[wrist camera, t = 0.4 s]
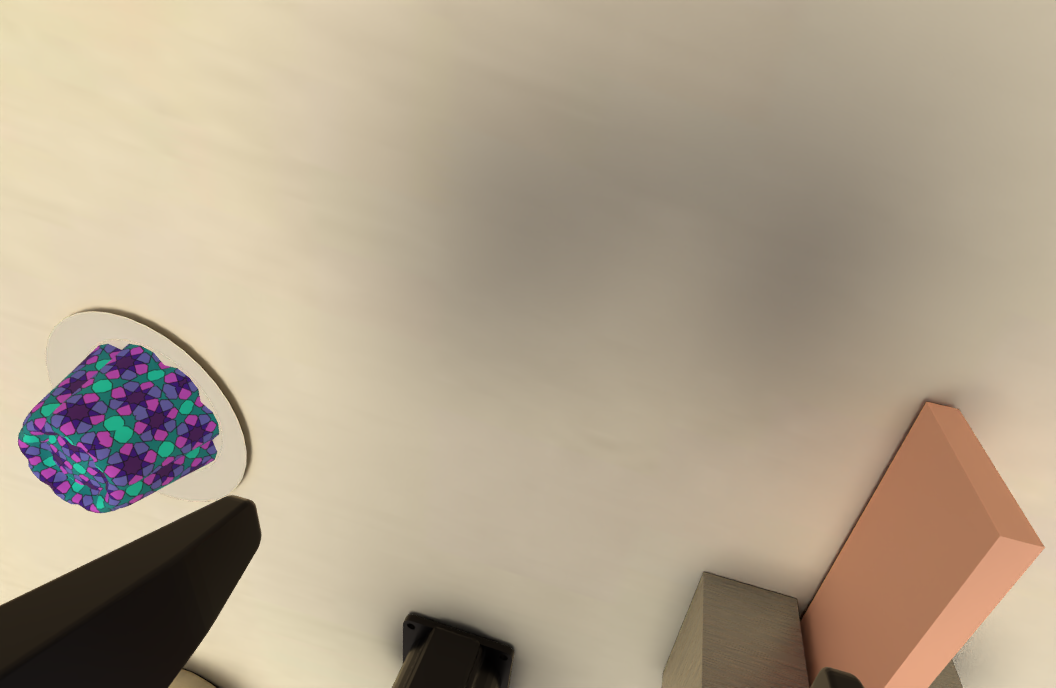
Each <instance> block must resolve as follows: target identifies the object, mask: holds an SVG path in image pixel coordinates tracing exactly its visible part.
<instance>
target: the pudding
mask: <svg viewBox="0 0 1056 688" xmlns="http://www.w3.org/2000/svg"><path fill="white" fill-rule="evenodd" d="M111 340H123V341H130V342H134V343H138V344H141V345H143V346H146V347H148V348H150V349H153V350H155V351H156V352H158V353H160V354H162V355H163V356H165V357H167V358H168V359H169V360H171V361H172V362H173V363H175V364H176V365H178V366H179V367H180V368H181V369H182V370H183V371H184V372H185V373H187V374H188V375H189V376H190V377H191V378H192V379H193V380H194V382H195V383H196V384H197V385H198V386H199V387H200V388H201V390H202V391H203V393H204V394H205V395H206V397H207V398H208V400H209V401H210V403H211V405H212V407H213V409H214V410H215V412H216V415H217V418H218V420H219V423H220V427H221V432H222V448H221V452H220V455H219V457H218V458H217V460H216V461H215V462H214V463H213V464H212V465H211V466H209V467H207V468H205V469H203V470H199V471H195V470H197V469H199V468H201V467H203V466H205V465H207V464H208V463H210V462H212V461H213V460H215V457H216V454H217V450H216V448H215V446H214V443H213V441H212V440H213V439H214V438H215V437H216V436H217V435H219V427H218V422H217V420H216V418H215V416H214V414H213V412H212V411H210V410H209V409H208V408H207V407H206V406H205V405H203V404H202V403H201V402H200V396H199V391H198V389H197V387H196V386H195V385H194V383H193V382H192V381H191V379H190V378H189V377H188V376H186V375H185V374H184V373H183V372H181V371H180V370H179V369H178V368H173V367H169V366H165V365H163V363H162V362H161V361H160V360H159V359H158V357H157V356H156V355H155V354H154V353H153V352H151V351H149V350H148V349H146V348H144V347H142V346H139V345H132V344H128V345H127V346H126V347H125V348H124V349H123V350H120V349H118V348H116V347H114V346H112V345H109V344H105V345H100V346H98V347H97V348H96V349H95V350H94V351H93V352H92V353H91V354H90V355H88V354H89V352H90V351H91V349H93V348H94V347H95V346H96V345H98V344H100V343H103V342H105V341H111ZM87 355H88V356H87ZM46 366H47V371H48V376H49V380H50V383H51V385H52V388H53V390H52V391H51V392H50V393H49V394H48V395H47V396H46V397H44V398H43V399H42V400H41V401H40V402H39V403H38V404H37V405H36V406H35V407H34V408H33V409H32V410H31V412H30V413H29V414H28V416H27V417H26V419H25V421H24V422H23V427H22V429H21V431H20V433H19V437H18V445H19V447H20V450H21V452H22V453H23V454H24V455H25V456H26V458H27V459H28V461H29V467H30V469H31V471H32V472H33V474H34V475H35V476H36V477H37V478H38V479H39V480H40V481H42V482H44V483H45V484H47V485H49V486H50V487H51V489H52V490H53V491H54V493H55V494H56V495H57V496H59V497H60V498H61V499H63V500H64V501H66V502H68V503H70V504H79V505H80V506H82V507H83V508H85V509H86V510H88V511H91V512H95V513H106V512H111V511H114V510H117V509H119V508H123V507H126V506H129V505H131V504H133V503H135V502H137V501H139V500H141V499H143V498H144V497H146V496H148V495H150V494H152V493H154V492H158V493H160V494H163V495H166V496H169V497H172V498H176V499H181V500H186V501H196V502H206V501H211V500H217V499H219V498H222V497H224V496H226V495H228V494H229V493H231V492H232V491H233V490H234V489H235V488H237V486H238V484H239V483H240V481H241V480H242V478H243V475H244V472H245V468H246V453H247V452H246V446H245V440H244V435H243V433H242V430H241V427H240V424H239V421H238V419H237V417H236V415H235V413H234V411H233V409H232V407H231V405H230V403H229V402H228V400H227V399H226V397H225V396H224V394H223V393H222V391H221V390H220V389H219V387H218V386H217V384H216V383H215V382H214V381H213V380H212V378H211V377H210V376H209V375H208V374H207V373H206V372H205V370H204V369H203V368H202V367H201V366H200V365H199V364H198V363H197V362H196V361H195V360H194V359H192V358H191V357H190V356H189V355H188V354H187V353H186V352H185V351H184V350H182V349H181V348H180V347H178V346H177V345H176V344H174V343H173V342H172V341H170V340H169V339H168V338H166V337H165V336H163V335H161V334H160V333H158V332H156V331H154V330H153V329H151V328H149V327H147V326H146V325H143V324H141V323H139V322H136V321H134V320H132V319H129V318H127V317H123V316H119V315H115V314H112V313H107V312H95V311H89V312H82V313H76V314H73V315H71V316H69V317H66V318H64V319H63V320H62V321H61V322H60V323H58V324H57V325H56V326H55V327H54V329H53V331H52V333H51V334H50V336H49V339H48V343H47V347H46Z"/></svg>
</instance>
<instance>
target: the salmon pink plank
mask: <svg viewBox="0 0 1056 688" xmlns="http://www.w3.org/2000/svg"><path fill="white" fill-rule="evenodd" d="M1044 548H1045V547H1044V545H1043V544H1042V542H1041V541H1040V539H1039V537H1038V536H1037V534H1036V533H1035V531H1034V529H1033V528H1032V526H1031V524H1030V523H1029V521H1028V520H1027V518H1026V516H1025V515H1024V513H1023V512H1022V510H1021V508H1020V507H1019V505H1018V504H1017V502H1016V500H1015V499H1014V497H1013V495H1012V494H1011V492H1010V491H1009V489H1008V487H1007V486H1006V484H1005V483H1004V481H1003V479H1002V478H1001V476H1000V475H999V473H998V471H997V470H996V468H995V466H994V465H993V463H992V462H991V460H990V458H989V457H988V455H987V454H986V452H985V450H984V449H983V447H982V446H981V444H980V442H979V441H978V439H977V437H976V436H975V434H974V433H973V431H972V429H971V428H970V426H969V425H968V423H967V421H966V420H965V418H964V417H963V415H962V413H961V412H960V410H959V409H956V408H952V407H948V406H943V405H939V404H934V403H930V402H926V403H925V405H924V407H923V409H922V410H921V412H920V414H919V415H918V417H917V419H916V421H915V422H914V424H913V426H912V428H911V429H910V431H909V433H908V435H907V436H906V438H905V440H904V442H903V443H902V445H901V447H900V449H899V450H898V452H897V454H896V456H895V457H894V459H893V461H892V463H891V464H890V466H889V468H888V470H887V471H886V473H885V475H884V477H883V478H882V480H881V482H880V484H879V485H878V487H877V489H876V491H875V492H874V494H873V496H872V498H871V499H870V501H869V503H868V505H867V506H866V508H865V510H864V512H863V513H862V515H861V517H860V519H859V520H858V522H857V524H856V526H855V527H854V529H853V531H852V533H851V534H850V536H849V538H848V540H847V541H846V543H845V545H844V547H843V548H842V550H841V552H840V554H839V555H838V557H837V559H836V561H835V562H834V564H833V566H832V568H831V569H830V571H829V573H828V574H827V576H826V578H825V580H824V581H823V583H822V585H821V587H820V588H819V590H818V592H817V594H816V595H815V597H814V599H813V601H812V602H811V604H810V606H809V608H808V609H807V611H806V613H805V615H804V616H803V618H802V620H801V622H800V626H801V633H802V640H803V647H804V654H805V661H806V668H807V675H808V682H809V688H810V687H811V685H812V684H813V682H814V680H815V678H816V677H817V675H818V673H819V671H820V670H821V669H822V668H824V667H831V668H834V669H838V670H841V671H844V672H848V673H851V674H853V675H854V676H856V677H857V678H858V679H859V680H860V682H861V683H862V685H863V686H864V688H928V687H929V686H930V685H931V683H932V682H933V681H934V680H935V679H936V677H937V676H938V675H939V674H940V673H941V671H942V670H943V669H944V668H945V667H946V665H947V664H948V663H949V662H950V661H951V659H952V658H953V657H954V656H955V655H956V653H957V652H958V651H959V650H960V649H961V647H962V646H963V645H964V644H965V643H966V642H967V640H968V639H969V638H970V637H971V636H972V634H973V633H974V632H975V631H976V630H977V628H978V627H979V626H980V625H981V624H982V622H983V621H984V620H985V619H986V618H987V616H988V615H989V614H990V613H991V612H992V610H993V609H994V608H995V607H996V606H997V604H998V603H999V602H1000V601H1001V600H1002V598H1003V597H1004V596H1005V595H1006V594H1007V592H1008V591H1009V590H1010V589H1011V588H1012V586H1013V585H1014V584H1015V583H1016V582H1017V580H1018V579H1019V578H1020V577H1021V576H1022V574H1023V573H1024V572H1025V571H1026V570H1027V568H1028V567H1029V566H1030V565H1031V564H1032V562H1033V561H1034V560H1035V559H1036V558H1037V556H1038V555H1039V554H1040V553H1041V552H1042V550H1043V549H1044Z"/></svg>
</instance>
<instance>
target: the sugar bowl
mask: <svg viewBox="0 0 1056 688" xmlns="http://www.w3.org/2000/svg"><path fill="white" fill-rule="evenodd" d="M168 688H216V687H215V686H214V685H212V684H210V683H209V682H207V681H206V680H204V679H202V678H201V677H199V676H197V675H196V674H194V673H192V672H189V671H186V670H183V669H181V671H180V672H179V674H178V675H177V676H176V678H175V679H174V680H173V682H172V683H171V685H170V686H169V687H168Z"/></svg>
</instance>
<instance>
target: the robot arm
mask: <svg viewBox="0 0 1056 688" xmlns="http://www.w3.org/2000/svg"><path fill="white" fill-rule="evenodd" d="M260 541H261V529H260V524H259V519H258V514H257V509H256V505H255V503H254V502H253V501H252V500H249V499H246V498H242V497H239V496H234V495H230V496H226V497H224V498H222V499H220V500H217V501H215V502H213V503H211V504H209V505H207V506H205V507H203V508H201V509H199V510H197V511H195V512H193V513H191V514H189V515H186V516H184V517H182V518H180V519H178V520H176V521H174V522H172V523H170V524H168V525H166V526H164V527H162V528H160V529H158V530H155V531H153V532H151V533H149V534H147V535H145V536H143V537H141V538H139V539H137V540H135V541H133V542H131V543H129V544H126V545H124V546H122V547H120V548H118V549H116V550H114V551H112V552H110V553H108V554H106V555H104V556H102V557H100V558H98V559H95V560H93V561H91V562H89V563H87V564H85V565H83V566H81V567H79V568H77V569H75V570H73V571H71V572H69V573H67V574H64V575H62V576H60V577H58V578H56V579H54V580H52V581H50V582H48V583H46V584H44V585H42V586H40V587H38V588H35V589H33V590H31V591H29V592H27V593H25V594H23V595H21V596H19V597H17V598H15V599H13V600H11V601H9V602H7V603H4V604H2V605H0V688H168V687H169V686H170V685H171V683H172V682H173V680H174V679H175V678H176V676H177V675H178V674H179V672H180V671H181V669H182V668H183V667H184V665H185V664H186V663H187V661H188V660H189V658H190V657H191V656H192V654H193V653H194V651H195V650H196V649H197V647H198V646H199V644H200V643H201V642H202V640H203V639H204V637H205V636H206V634H207V633H208V631H209V630H210V628H211V627H212V625H213V623H214V622H215V620H216V619H217V617H218V615H219V613H220V612H221V610H222V608H223V607H224V605H225V603H226V602H227V600H228V598H229V597H230V595H231V593H232V591H233V590H234V588H235V586H236V585H237V583H238V581H239V580H240V578H241V576H242V575H243V573H244V571H245V569H246V568H247V566H248V564H249V563H250V561H251V559H252V558H253V556H254V554H255V553H256V551H257V549H258V547H259V544H260ZM513 658H514V651H513V649H511V648H510V647H508V646H506V645H503V644H500V643H497V642H494V641H491V640H488V639H485V638H482V637H479V636H476V635H473V634H470V633H467V632H464V631H461V630H458V629H455V628H452V627H449V626H446V625H443V624H440V623H437V622H434V621H431V620H428V619H425V618H422V617H419V616H416V615H412V614H410V615H407V617H406V619H405V621H404V623H403V665H402V668H401V670H400V672H399V674H398V676H397V678H396V680H395V682H394V684H393V686H392V688H509V682H510V676H511V670H512V664H513ZM810 688H864V686H863V685H862V683H861V682H860V680H859V679H858V678H857V677H856V676H854V675H853V674H851V673H848V672H844V671H841V670H838V669H834V668H831V667H824V668H822V669H821V670H820V671H819V673H818V675H817V677H816V678H815V680H814V682H813V684H812V685H811V687H810Z"/></svg>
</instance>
